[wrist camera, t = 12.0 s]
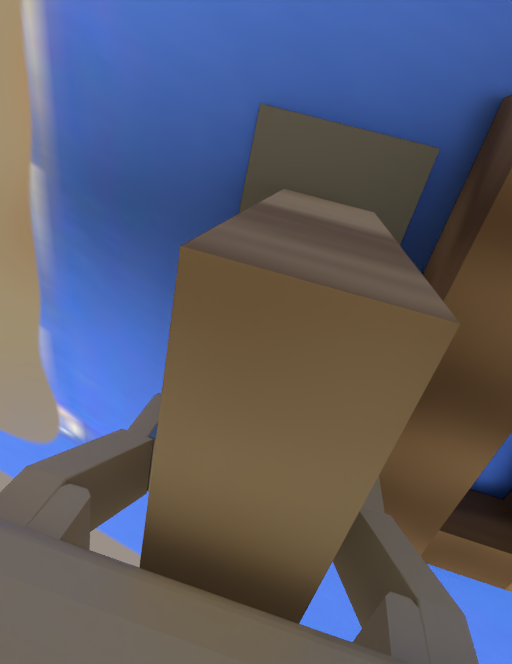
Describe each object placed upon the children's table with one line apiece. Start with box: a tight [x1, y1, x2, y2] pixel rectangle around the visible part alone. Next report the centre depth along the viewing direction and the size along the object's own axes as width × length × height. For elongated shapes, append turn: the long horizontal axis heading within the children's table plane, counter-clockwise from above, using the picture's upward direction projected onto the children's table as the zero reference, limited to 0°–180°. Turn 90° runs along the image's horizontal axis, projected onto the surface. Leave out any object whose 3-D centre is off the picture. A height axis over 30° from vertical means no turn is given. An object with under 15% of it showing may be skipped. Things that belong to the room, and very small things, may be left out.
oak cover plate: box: [140, 189, 460, 624], centre depth 11 cm, size 12×3×9 cm, turn 167°
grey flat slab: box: [239, 103, 440, 245], centre depth 18 cm, size 16×7×1 cm, turn 167°
